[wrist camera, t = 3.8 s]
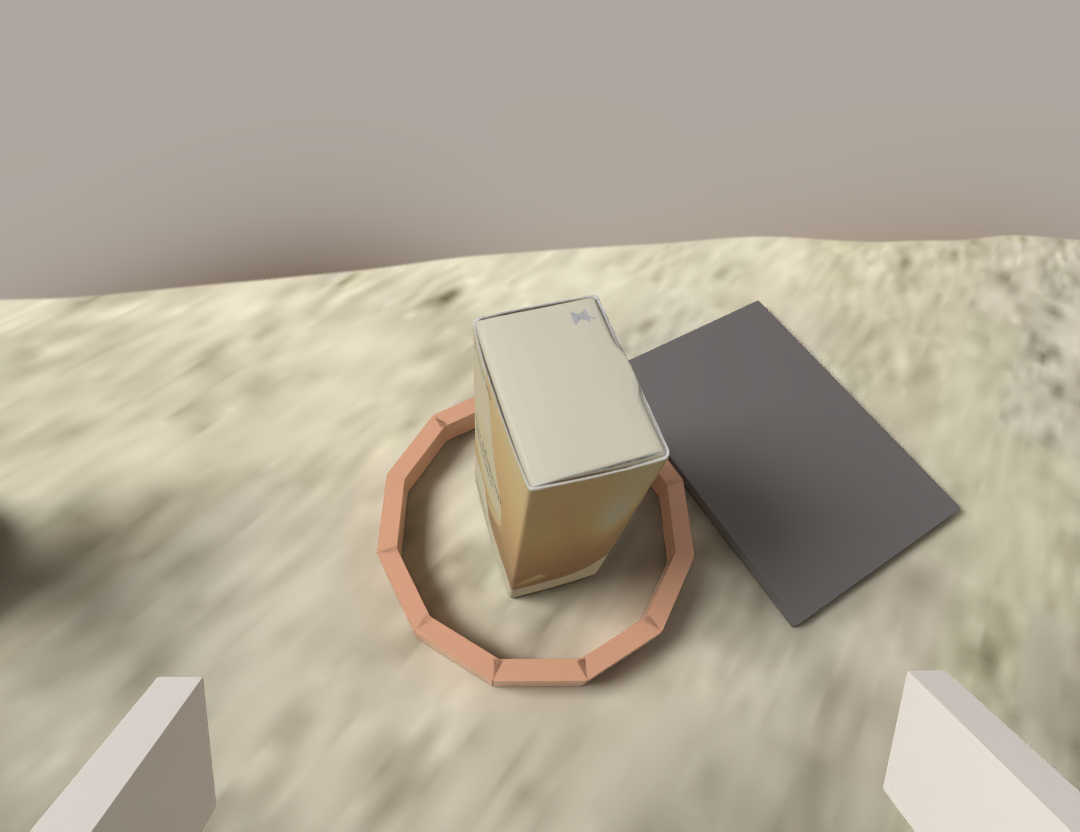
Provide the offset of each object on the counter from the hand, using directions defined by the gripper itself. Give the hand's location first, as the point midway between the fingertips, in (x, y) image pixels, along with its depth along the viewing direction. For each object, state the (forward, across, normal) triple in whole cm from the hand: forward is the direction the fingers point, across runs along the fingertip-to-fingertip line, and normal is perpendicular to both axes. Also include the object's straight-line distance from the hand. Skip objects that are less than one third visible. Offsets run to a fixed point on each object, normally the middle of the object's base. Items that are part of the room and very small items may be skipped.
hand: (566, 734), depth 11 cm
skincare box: (+17, +1, -3) cm, 17 cm away
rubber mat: (+20, +13, 0) cm, 23 cm away
